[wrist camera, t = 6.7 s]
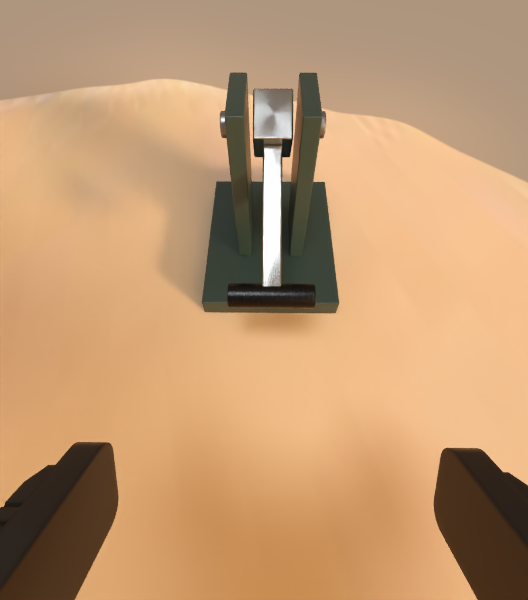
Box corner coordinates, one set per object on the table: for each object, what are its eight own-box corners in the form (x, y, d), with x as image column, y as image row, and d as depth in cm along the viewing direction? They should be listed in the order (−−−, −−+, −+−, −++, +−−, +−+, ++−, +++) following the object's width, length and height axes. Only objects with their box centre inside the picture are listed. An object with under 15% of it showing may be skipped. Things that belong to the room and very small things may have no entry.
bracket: (335, 313, 26) (387, 173, 15) (204, 312, 26) (160, 172, 15) (322, 194, 33) (351, 37, 22) (218, 193, 33) (194, 37, 22)
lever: (311, 308, 21) (317, 308, 19) (230, 307, 21) (225, 308, 19) (312, 112, 21) (318, 88, 19) (232, 112, 21) (227, 88, 19)
